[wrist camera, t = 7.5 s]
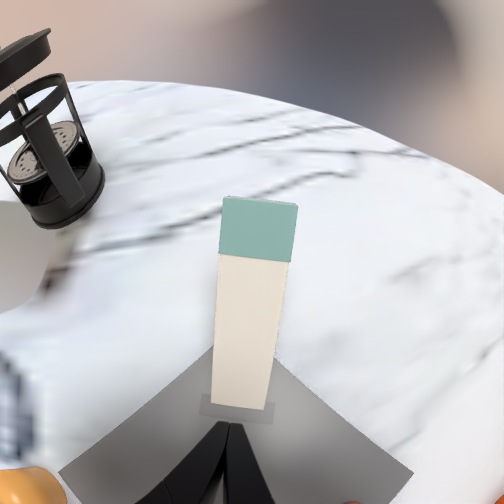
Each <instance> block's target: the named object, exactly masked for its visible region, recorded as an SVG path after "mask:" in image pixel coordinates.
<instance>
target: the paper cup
mask: <svg viewBox="0 0 504 504" xmlns="http://www.w3.org/2000/svg"><path fill="white" fill-rule="evenodd" d="M495 504H504V495H503V496H502V497H501V498H500V499H499V500H498V501H497V502H496V503H495Z"/></svg>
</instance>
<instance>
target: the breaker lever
mask: <svg viewBox="0 0 504 504" xmlns="http://www.w3.org/2000/svg"><path fill="white" fill-rule="evenodd" d="M297 211H298V206H297V205H296V204H295V203H288V202H280V201H272V200H263V199H255V198H245V197H236V196H227V197H224V198H223V208H222V219H221V230H220V242H219V254H220V258H219V271H218V284H217V298H216V313H215V329H214V347H213V366H212V388H211V403H214V404H220V405H227V406H234V407H241V408H250V409H259V410H264V406H265V400H266V395H267V390H268V385H269V380H270V374H271V369H272V364H273V358H274V353H275V347H276V341H277V335H278V330H279V324H280V318H281V312H282V305H283V299H284V293H285V286H286V280H287V273H288V267H289V262H291V255H292V248H293V241H294V233H295V226H296V219H297Z"/></svg>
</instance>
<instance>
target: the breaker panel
mask: <svg viewBox="0 0 504 504" xmlns="http://www.w3.org/2000/svg"><path fill="white" fill-rule="evenodd" d="M213 347H214V346H213ZM213 347H212V348H210V349H209V350H208V351H207V352H206V353H205V354H204V355H202V356H201V357H200V358H199V359H198V360H197V361H196V362H194V363H193V364H192V365H191V366H190V367H189V368H188V369H186V370H185V371H184V372H183V373H182V374H181V375H179V376H178V377H177V378H176V379H175V380H174V381H172V382H171V383H170V384H169V385H168V386H167V387H165V388H164V389H163V390H162V391H161V392H159V393H158V394H157V395H156V396H155V397H153V398H152V399H151V400H150V401H149V402H147V403H146V404H145V405H144V406H143V407H141V408H140V409H139V410H138V411H137V412H135V413H134V414H133V415H132V416H130V417H129V418H128V419H127V420H125V421H124V422H123V423H122V424H120V425H119V426H118V427H117V428H115V429H114V430H113V431H112V432H110V433H109V434H108V435H106V436H105V437H104V438H103V439H101V440H100V441H99V442H97V443H96V444H95V445H94V446H92V447H91V448H90V449H88V450H87V451H86V452H84V453H83V454H82V455H80V456H79V457H78V458H76V459H75V460H74V461H72V462H71V463H70V464H68V465H67V466H65V467H64V468H63V469H61V470H60V471H59V472H58V473H59V475H60V476H61V477H62V479H63V480H64V481H65V483H66V484H67V485H68V487H69V488H70V489H71V491H72V492H73V493H74V494H75V496H76V497H77V498H78V499H79V500H80V502H81V503H82V504H134V503H135V502H137V501H138V500H140V499H141V498H142V497H144V496H145V495H146V494H147V493H148V492H150V491H151V490H152V489H153V488H154V487H155V486H156V485H157V484H158V483H159V482H160V481H163V478H164V477H165V476H166V475H167V474H168V473H169V472H170V471H171V470H172V469H173V468H174V467H175V466H176V465H177V464H178V463H179V462H180V461H181V460H182V459H183V458H184V457H185V456H186V455H187V454H188V453H189V452H190V451H191V450H192V448H193V447H194V446H195V445H196V444H197V443H198V442H199V441H200V440H201V439H202V438H203V436H204V435H205V434H206V433H207V432H208V431H209V430H210V429H211V428H212V426H213V425H214V424H215V423H216V422H217V421H219V420H221V421H228V422H230V423H231V422H235V423H242V424H243V426H244V428H245V431H246V434H247V436H248V439H249V441H250V444H251V446H252V449H253V451H254V454H255V456H256V459H257V461H258V464H259V466H260V469H261V471H262V473H263V476H264V478H265V480H266V483H267V485H268V487H269V490H270V492H271V494H272V498H274V501H275V503H276V504H389V503H390V502H391V501H392V499H393V498H394V497H395V496H396V495H397V494H398V492H399V491H400V490H401V489H402V488H403V486H404V485H405V484H406V483H407V482H408V480H409V479H410V478H411V476H412V475H413V474H414V472H412V471H411V470H409V469H408V468H407V467H405V466H404V465H403V464H401V463H400V462H398V461H397V460H396V459H394V458H393V457H392V456H390V455H389V454H388V453H386V452H385V451H384V450H383V449H381V448H380V447H379V446H377V445H376V444H375V443H373V442H372V441H371V440H370V439H368V438H367V437H366V436H365V435H363V434H362V433H361V432H360V431H358V430H357V429H356V428H355V427H353V426H352V425H351V424H350V423H348V422H347V421H346V420H345V419H344V418H342V417H341V416H340V415H339V414H338V413H336V412H335V411H334V410H333V409H332V408H330V407H329V406H328V405H327V404H326V403H325V402H323V401H322V400H321V399H320V398H319V397H318V396H316V395H315V394H314V393H313V392H312V391H311V390H309V389H308V388H307V387H306V386H305V385H304V384H303V383H302V382H300V381H299V380H298V379H297V378H296V377H295V376H294V375H293V374H291V373H290V372H289V371H288V370H287V369H286V368H285V367H284V366H283V365H282V364H280V363H279V362H278V361H277V360H276V359H275V358H273V364H272V369H271V374H270V380H269V385H268V390H267V395H266V400H265V406H264V410H259V409H250V408H241V407H234V406H227V405H220V404H214V403H211V388H212V366H213ZM214 504H223V476H222V479H221V483H220V486H219V489H218V492H217V495H216V498H215V501H214Z"/></svg>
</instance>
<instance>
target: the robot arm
mask: <svg viewBox="0 0 504 504" xmlns="http://www.w3.org/2000/svg"><path fill="white" fill-rule="evenodd" d="M222 476H223V504H276V503H275V501H274V498H272V494H271V492H270V490H269V487H268V485H267V483H266V480H265V478H264V476H263V473H262V471H261V469H260V466H259V464H258V461H257V459H256V456H255V454H254V451H253V449H252V446H251V444H250V441H249V439H248V436H247V434H246V431H245V428H244V426H243V424H242V423H235V422H231V423H230V422H228V421H221V420H219V421H217V422H216V423H215V424H214V425H213V426H212V428H211V429H210V430H209V431H208V432H207V433H206V434H205V435H204V436H203V438H202V439H201V440H200V441H199V442H198V443H197V444H196V445H195V446H194V447H193V448H192V450H191V451H190V452H189V453H188V454H187V455H186V456H185V457H184V458H183V459H182V460H181V461H180V462H179V463H178V464H177V465H176V466H175V467H174V468H173V469H172V470H171V471H170V472H169V473H168V474H167V475H166V476H165V477H164V478H163V481H160V482H159V483H158V484H157V485H156V486H155V487H154V488H153V489H152V490H151V491H150V492H148V493H147V494H146V495H145V496H144V497H142V498H141V499H140V500H138V501H137V502H135V503H134V504H214V501H215V498H216V495H217V492H218V489H219V486H220V483H221V479H222Z"/></svg>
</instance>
